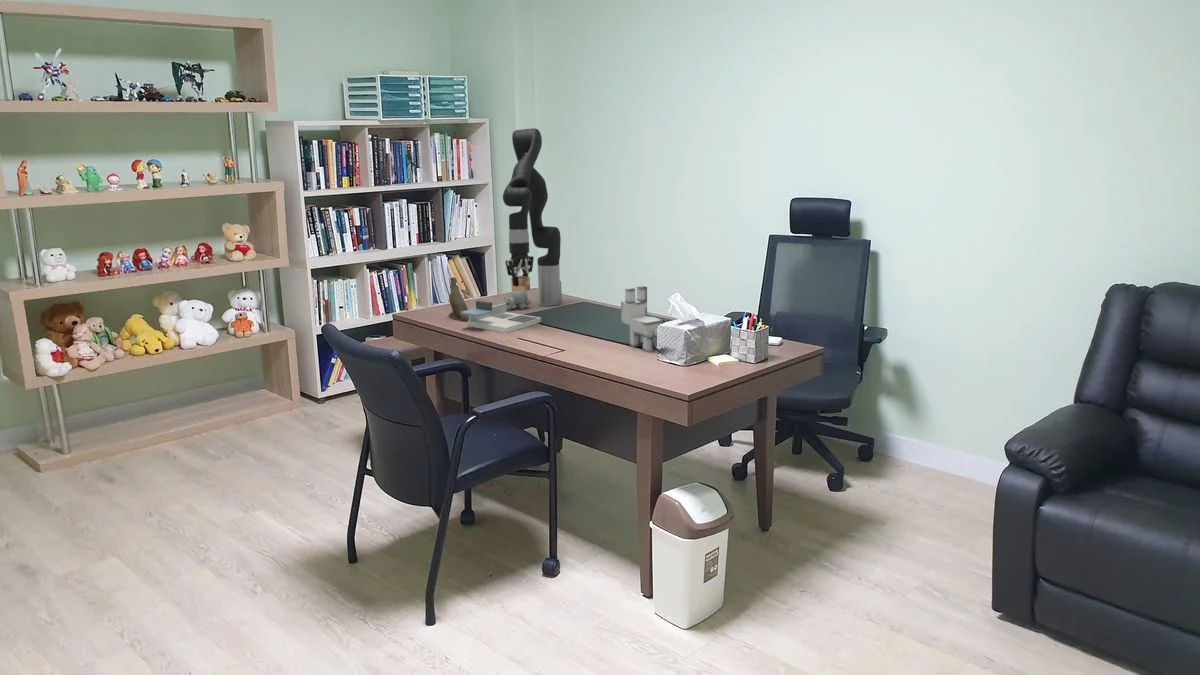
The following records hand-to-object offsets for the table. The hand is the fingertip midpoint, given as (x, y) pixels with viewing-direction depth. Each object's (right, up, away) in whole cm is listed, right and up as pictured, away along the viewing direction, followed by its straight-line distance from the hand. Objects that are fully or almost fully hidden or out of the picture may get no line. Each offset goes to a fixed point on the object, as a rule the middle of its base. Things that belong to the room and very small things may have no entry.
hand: (520, 284), depth 336 cm
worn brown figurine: (-25, -13, +15) cm, 32 cm away
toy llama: (+46, -24, -32) cm, 61 cm away
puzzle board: (-7, -15, +4) cm, 17 cm away
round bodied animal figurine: (-5, -8, +31) cm, 33 cm away
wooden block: (0, -2, +1) cm, 2 cm away
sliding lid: (-16, -11, -3) cm, 20 cm away
